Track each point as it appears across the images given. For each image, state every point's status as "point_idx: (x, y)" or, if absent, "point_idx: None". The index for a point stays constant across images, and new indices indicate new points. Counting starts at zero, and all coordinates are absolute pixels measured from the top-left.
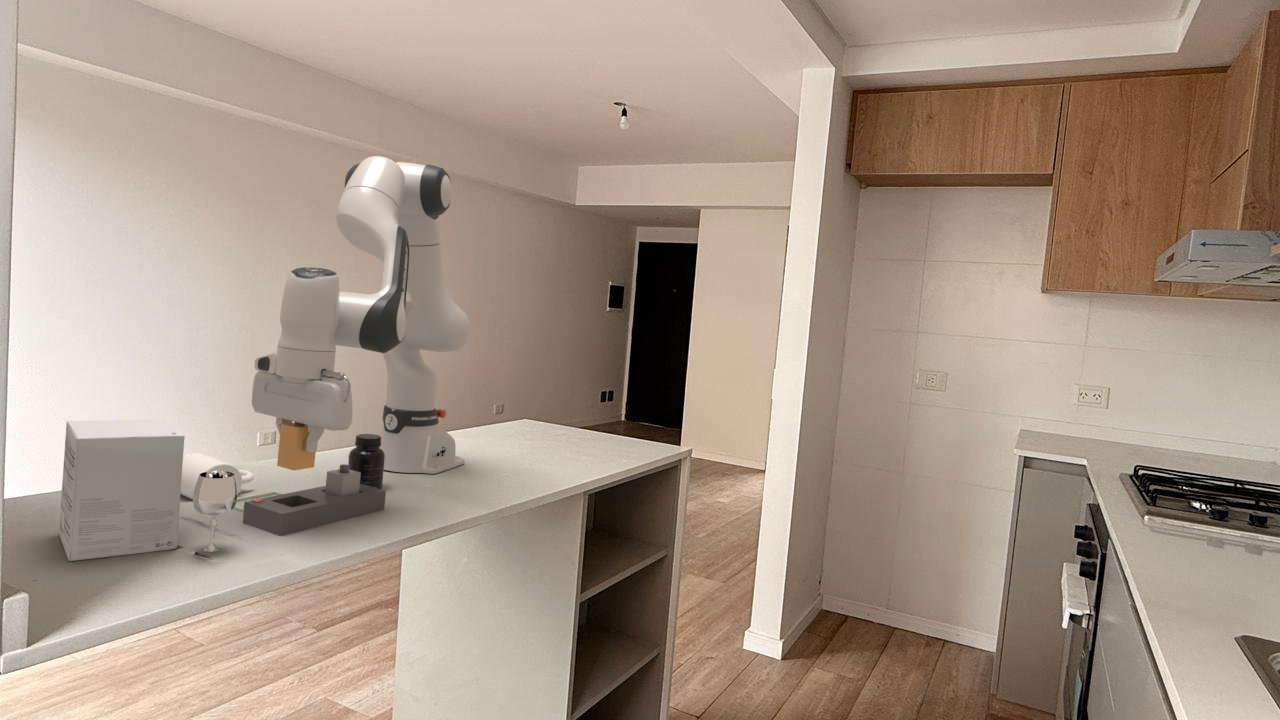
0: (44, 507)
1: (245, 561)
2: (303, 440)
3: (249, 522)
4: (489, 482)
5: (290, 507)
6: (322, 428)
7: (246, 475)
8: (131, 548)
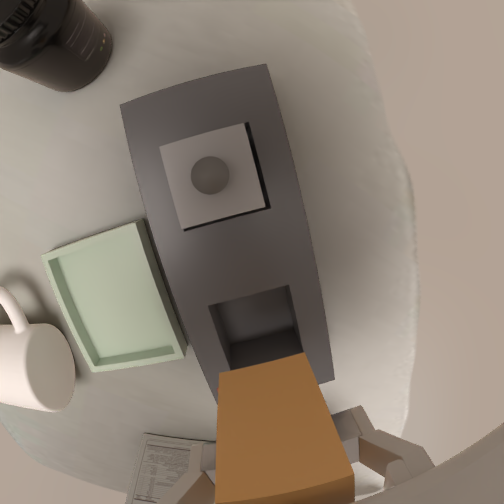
0: (59, 462)
1: (350, 396)
2: None
3: None
4: None
5: None
6: (427, 463)
7: (8, 312)
8: None
